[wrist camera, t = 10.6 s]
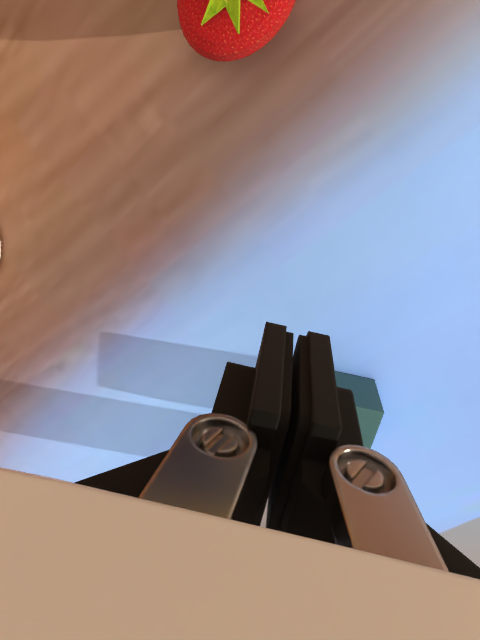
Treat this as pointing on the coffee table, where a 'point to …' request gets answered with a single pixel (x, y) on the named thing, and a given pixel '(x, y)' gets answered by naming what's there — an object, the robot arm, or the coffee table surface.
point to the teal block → (364, 404)
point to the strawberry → (231, 25)
